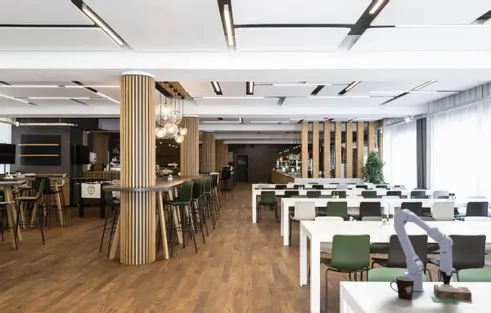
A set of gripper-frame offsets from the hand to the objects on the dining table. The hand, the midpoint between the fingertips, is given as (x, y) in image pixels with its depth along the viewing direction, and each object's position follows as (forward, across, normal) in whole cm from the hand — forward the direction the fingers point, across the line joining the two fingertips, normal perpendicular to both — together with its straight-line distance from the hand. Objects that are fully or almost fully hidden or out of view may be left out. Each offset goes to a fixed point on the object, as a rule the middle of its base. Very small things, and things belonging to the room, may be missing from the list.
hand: (446, 285), depth 204 cm
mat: (+5, -10, +3) cm, 11 cm away
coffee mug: (+5, -12, +23) cm, 26 cm away
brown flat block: (+5, -1, -2) cm, 6 cm away
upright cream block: (+1, -4, 0) cm, 4 cm away
